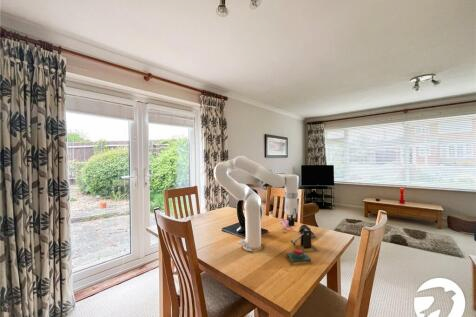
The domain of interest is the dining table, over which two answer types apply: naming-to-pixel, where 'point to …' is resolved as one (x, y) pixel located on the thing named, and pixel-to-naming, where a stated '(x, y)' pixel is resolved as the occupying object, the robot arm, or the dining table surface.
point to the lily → (286, 224)
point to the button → (298, 251)
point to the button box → (298, 257)
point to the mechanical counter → (308, 229)
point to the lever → (297, 238)
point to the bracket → (306, 238)
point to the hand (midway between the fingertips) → (291, 225)
